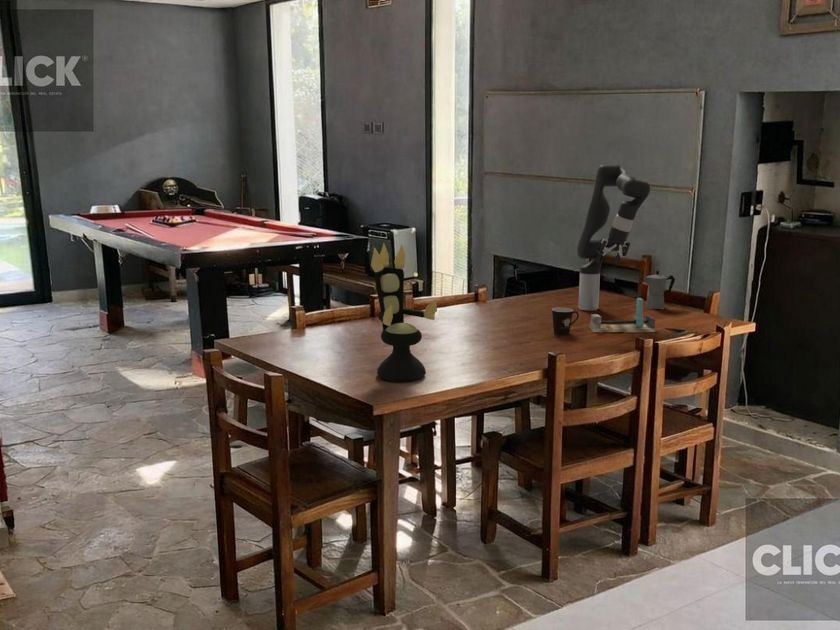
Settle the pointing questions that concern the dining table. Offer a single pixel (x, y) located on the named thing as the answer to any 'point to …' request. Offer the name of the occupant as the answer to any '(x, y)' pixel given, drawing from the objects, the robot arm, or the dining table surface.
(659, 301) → the coffeepot
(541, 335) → the dining table surface
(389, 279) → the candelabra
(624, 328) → the cord board
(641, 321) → the teal upright slider
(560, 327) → the coffee mug
